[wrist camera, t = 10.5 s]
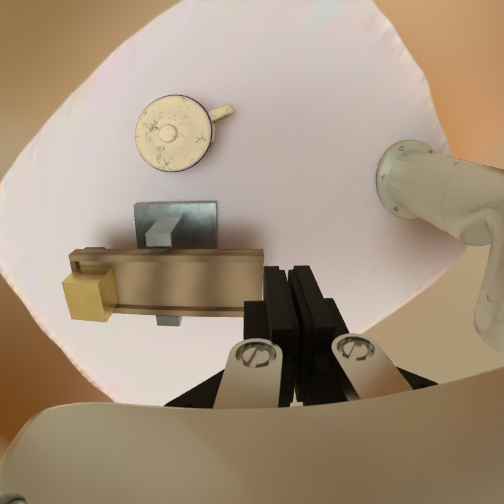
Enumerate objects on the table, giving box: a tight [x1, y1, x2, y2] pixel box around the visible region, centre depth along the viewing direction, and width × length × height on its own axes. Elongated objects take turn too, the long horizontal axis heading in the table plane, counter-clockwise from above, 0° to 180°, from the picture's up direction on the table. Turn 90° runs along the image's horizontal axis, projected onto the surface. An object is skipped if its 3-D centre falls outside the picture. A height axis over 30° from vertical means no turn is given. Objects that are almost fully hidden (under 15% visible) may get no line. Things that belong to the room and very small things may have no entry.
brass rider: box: [62, 265, 120, 322], centre depth 34 cm, size 5×5×5 cm
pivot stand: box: [134, 201, 217, 326], centre depth 42 cm, size 12×15×11 cm
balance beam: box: [69, 246, 264, 317], centre depth 38 cm, size 24×8×4 cm, turn 89°
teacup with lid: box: [135, 95, 235, 172], centre depth 35 cm, size 12×9×12 cm
